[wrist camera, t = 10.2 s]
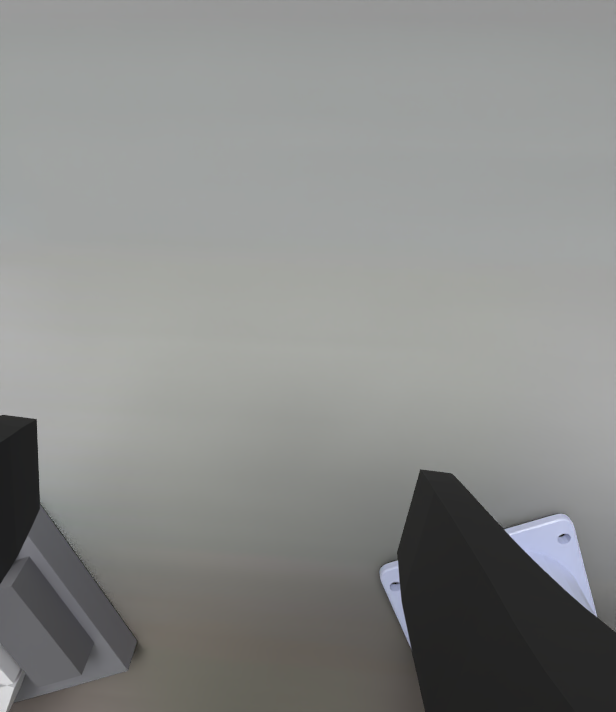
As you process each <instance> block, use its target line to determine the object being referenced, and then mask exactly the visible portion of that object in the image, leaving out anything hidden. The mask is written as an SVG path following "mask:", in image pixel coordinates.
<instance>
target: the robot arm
mask: <svg viewBox="0 0 616 712" xmlns="http://www.w3.org/2000/svg"><path fill="white" fill-rule="evenodd" d="M39 510H40V495H39V470H38V444H37V419H30V418H23V417H15V416H7V415H1V416H0V584H1V582H2V581H3V579H4V577H5V576H6V574H7V573H8V571H9V570H10V568H11V566H12V565H13V563H14V562H15V560H16V558H17V557H18V555H19V553H20V550H21V548H22V546H23V544H24V542H25V540H26V538H27V536H28V534H29V532H30V530H31V528H32V525H33V523H34V521H35V519H36V517H37V514H38V512H39ZM562 534H565V535H564V536H562V537H559V536H560V535H562ZM397 554H398V560H397V561H394V562H390V563H387V564H385V565H383V566H382V567H381V568H380V571H379V573H380V580H381V583H382V585H383V587H384V589H385V591H386V594H387V596H388V598H389V600H390V603H391V605H392V607H393V609H394V612H395V614H396V616H397V618H398V621H399V623H400V625H401V627H402V630H403V632H404V634H405V636H406V638H407V641H408V643H409V645H410V647H411V650H412V653H413V658H414V663H415V667H416V672H417V676H418V681H419V685H420V690H421V694H422V699H423V703H424V708H425V712H616V633H615V632H614V631H613V630H612V629H611V628H609V627H608V626H607V625H606V624H604V623H603V622H602V621H601V620H600V619H598V618H597V614H596V610H595V606H594V602H593V598H592V594H591V590H590V587H589V583H588V579H587V575H586V571H585V567H584V563H583V559H582V555H581V551H580V548H579V544H578V540H577V536H576V532H575V528H574V525H573V523H572V521H571V520H570V518H569V517H568V516H567V515H565V514H555V515H552V516H548V517H545V518H541V519H538V520H535V521H531V522H528V523H524V524H521V525H517V526H514V527H511V528H507V529H503V528H502V527H501V526H500V525H499V524H498V523H497V522H496V521H495V519H494V518H493V517H492V516H491V515H490V514H489V513H488V512H487V511H486V510H485V509H484V507H483V506H482V505H481V504H480V503H479V502H478V501H477V500H476V499H475V498H474V496H473V495H472V494H471V493H470V492H469V491H468V490H467V489H466V488H465V487H464V486H463V485H462V484H461V482H460V481H459V480H458V479H457V478H456V477H455V476H454V475H453V474H451V473H444V472H436V471H428V470H421V469H420V473H419V476H418V480H417V483H416V487H415V491H414V494H413V498H412V501H411V505H410V509H409V512H408V516H407V519H406V523H405V526H404V530H403V534H402V537H401V541H400V544H399V548H398V552H397ZM393 582H399V583H398V584H392V583H393Z"/></svg>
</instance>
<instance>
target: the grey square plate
mask: <svg viewBox="0 0 616 712" xmlns="http://www.w3.org/2000/svg"><path fill="white" fill-rule="evenodd" d="M136 643H137V640H136V639H135V637H134V636H133V634H132V633H131V632H130V630H129V629H128V627H127V626H126V624H125V623H124V622H123V620H122V619H121V617H120V616H119V615H118V613H117V612H116V610H115V609H114V608H113V606H112V605H111V603H110V602H109V600H108V599H107V598H106V596H105V595H104V593H103V592H102V591H101V589H100V588H99V586H98V585H97V584H96V582H95V581H94V579H93V578H92V577H91V575H90V574H89V572H88V571H87V569H86V568H85V567H84V565H83V564H82V562H81V561H80V560H79V558H78V557H77V555H76V554H75V553H74V551H73V550H72V548H71V547H70V545H69V544H68V543H67V541H66V540H65V538H64V537H63V536H62V534H61V533H60V531H59V530H58V529H57V527H56V526H55V524H54V523H53V522H52V520H51V519H50V517H49V516H48V514H47V513H46V512H45V510H44V509H43V507H42V506H41V505H40V510H39V512H38V514H37V517H36V519H35V521H34V523H33V525H32V528H31V530H30V532H29V534H28V536H27V538H26V540H25V542H24V544H23V546H22V548H21V550H20V553H19V555H18V557H17V558H16V560H15V562H14V563H13V565H12V566H11V568H10V570H9V571H8V573H7V574H6V576H5V577H4V579H3V581H2V582H1V584H0V712H9V710H10V708H11V706H12V704H13V703H15V702H19V701H23V700H26V699H30V698H33V697H37V696H40V695H44V694H47V693H51V692H54V691H58V690H61V689H65V688H69V687H72V686H76V685H79V684H83V683H86V682H90V681H93V680H97V679H100V678H104V677H108V676H111V675H115V674H118V673H122V672H125V671H128V669H129V666H130V663H131V659H132V656H133V653H134V650H135V646H136Z"/></svg>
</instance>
